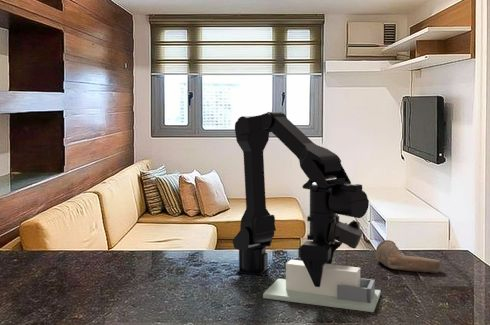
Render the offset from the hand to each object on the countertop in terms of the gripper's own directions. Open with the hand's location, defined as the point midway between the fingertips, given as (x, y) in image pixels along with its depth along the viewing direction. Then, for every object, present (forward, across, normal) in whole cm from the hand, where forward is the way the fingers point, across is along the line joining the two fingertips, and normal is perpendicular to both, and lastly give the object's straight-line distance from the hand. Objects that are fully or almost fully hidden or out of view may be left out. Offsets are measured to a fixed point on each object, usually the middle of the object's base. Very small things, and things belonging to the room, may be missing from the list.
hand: (322, 280), depth 119 cm
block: (+3, 0, 0) cm, 3 cm away
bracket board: (+4, 0, 0) cm, 4 cm away
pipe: (+4, +29, -16) cm, 33 cm away
